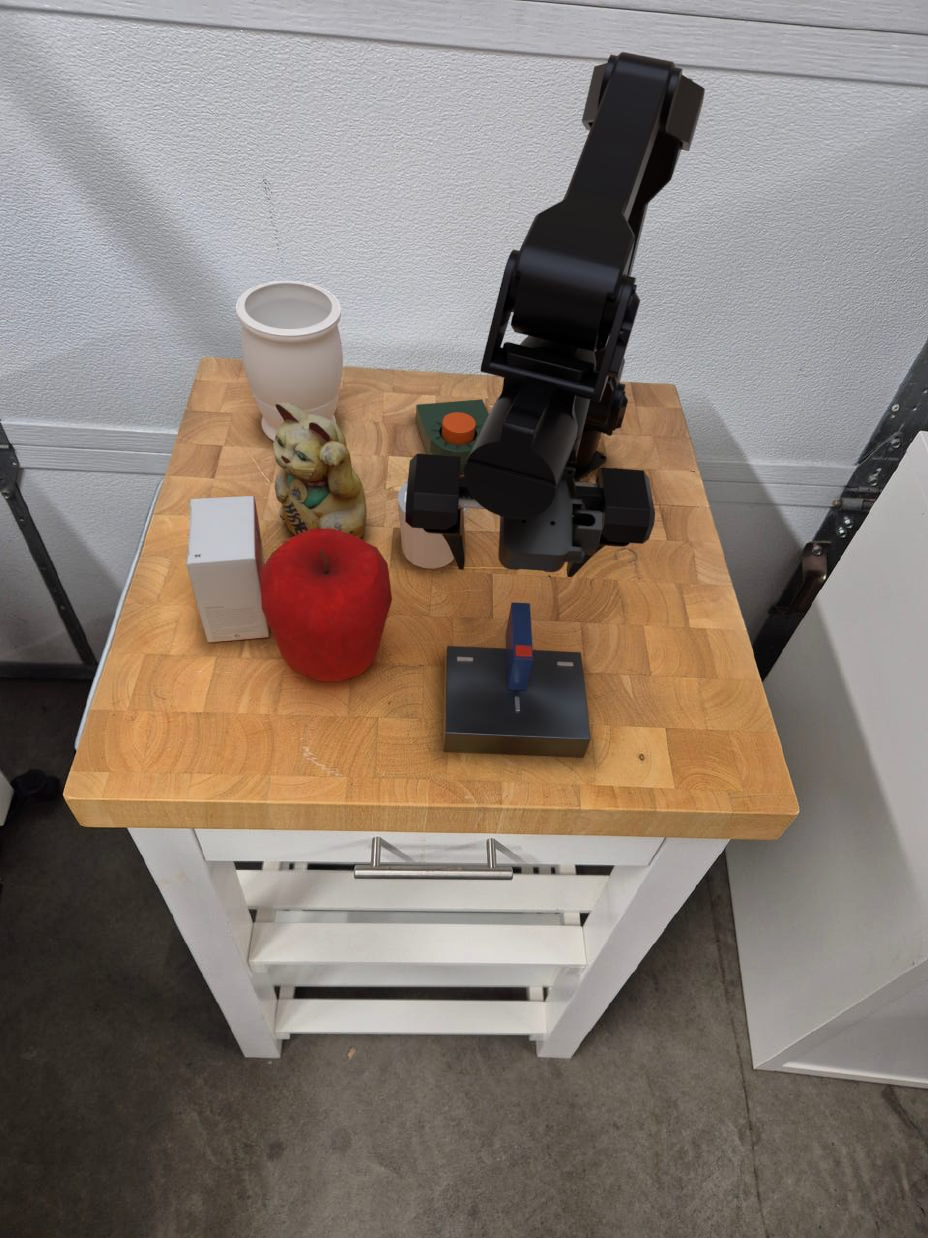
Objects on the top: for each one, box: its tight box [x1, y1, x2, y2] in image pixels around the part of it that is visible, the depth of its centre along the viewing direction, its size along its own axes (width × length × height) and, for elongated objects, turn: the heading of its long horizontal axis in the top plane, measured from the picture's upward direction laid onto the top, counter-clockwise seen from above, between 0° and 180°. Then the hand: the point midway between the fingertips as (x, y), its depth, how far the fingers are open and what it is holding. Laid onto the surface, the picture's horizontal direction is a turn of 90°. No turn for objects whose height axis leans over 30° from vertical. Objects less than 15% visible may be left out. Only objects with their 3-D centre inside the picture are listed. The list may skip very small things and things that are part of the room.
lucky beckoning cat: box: [272, 402, 367, 539], centre depth 78 cm, size 10×8×15 cm
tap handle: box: [504, 601, 534, 690], centre depth 69 cm, size 6×2×5 cm, turn 0°
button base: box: [415, 398, 490, 474], centre depth 92 cm, size 11×8×4 cm
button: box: [442, 412, 476, 445], centre depth 89 cm, size 4×4×2 cm
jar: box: [235, 280, 344, 442], centre depth 88 cm, size 11×10×15 cm
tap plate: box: [442, 645, 592, 758], centre depth 72 cm, size 12×13×3 cm
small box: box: [185, 495, 270, 643], centre depth 72 cm, size 8×6×10 cm
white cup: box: [397, 480, 469, 570], centre depth 80 cm, size 7×7×7 cm
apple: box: [260, 528, 393, 682], centre depth 68 cm, size 10×10×14 cm
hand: (515, 569), depth 69 cm, fingers open, 9 cm apart
